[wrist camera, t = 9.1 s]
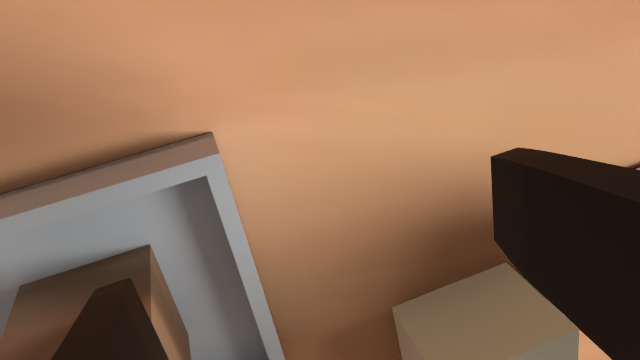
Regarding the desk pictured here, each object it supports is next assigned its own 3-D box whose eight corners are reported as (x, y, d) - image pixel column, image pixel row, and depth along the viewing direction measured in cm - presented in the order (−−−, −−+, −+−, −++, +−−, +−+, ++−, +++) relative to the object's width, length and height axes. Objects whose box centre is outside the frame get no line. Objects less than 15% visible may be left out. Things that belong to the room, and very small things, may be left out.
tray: (212, 131, 18) (219, 153, 16) (284, 357, 23) (295, 391, 22) (-140, 235, 16) (-174, 271, 15) (25, 455, 22) (15, 501, 20)
